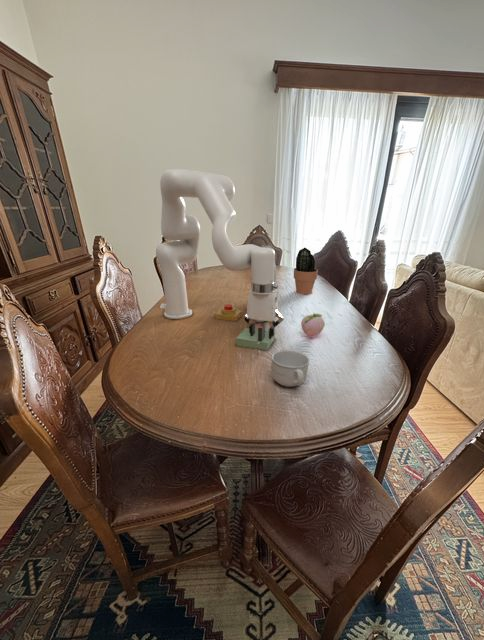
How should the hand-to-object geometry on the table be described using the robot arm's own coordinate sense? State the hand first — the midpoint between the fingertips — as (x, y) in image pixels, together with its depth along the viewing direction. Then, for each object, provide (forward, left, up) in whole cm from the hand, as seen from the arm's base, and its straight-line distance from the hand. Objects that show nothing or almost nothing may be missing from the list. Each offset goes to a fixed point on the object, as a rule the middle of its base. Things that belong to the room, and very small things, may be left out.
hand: (261, 335), depth 103 cm
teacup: (+15, -20, -4) cm, 26 cm away
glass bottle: (-14, +52, -4) cm, 55 cm away
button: (-23, +23, -1) cm, 33 cm away
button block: (-23, +24, -4) cm, 33 cm away
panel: (-2, +2, -4) cm, 5 cm away
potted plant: (+3, +74, -4) cm, 75 cm away
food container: (-6, +26, -4) cm, 27 cm away
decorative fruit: (+16, +14, -4) cm, 22 cm away
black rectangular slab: (0, 0, -1) cm, 1 cm away
